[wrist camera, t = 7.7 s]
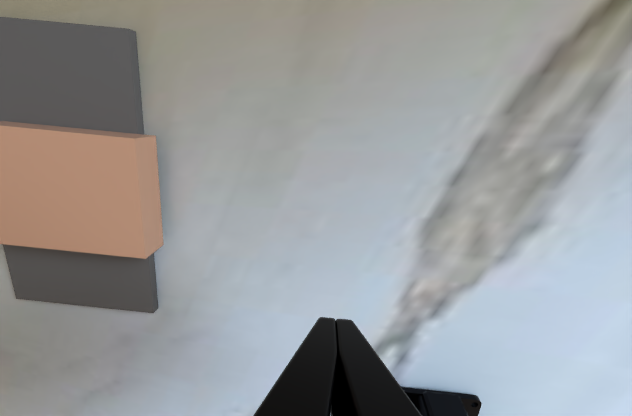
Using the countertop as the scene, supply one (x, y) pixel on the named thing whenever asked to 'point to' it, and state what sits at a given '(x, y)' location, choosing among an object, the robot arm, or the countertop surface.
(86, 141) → the tile
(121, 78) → the mat
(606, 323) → the countertop surface
